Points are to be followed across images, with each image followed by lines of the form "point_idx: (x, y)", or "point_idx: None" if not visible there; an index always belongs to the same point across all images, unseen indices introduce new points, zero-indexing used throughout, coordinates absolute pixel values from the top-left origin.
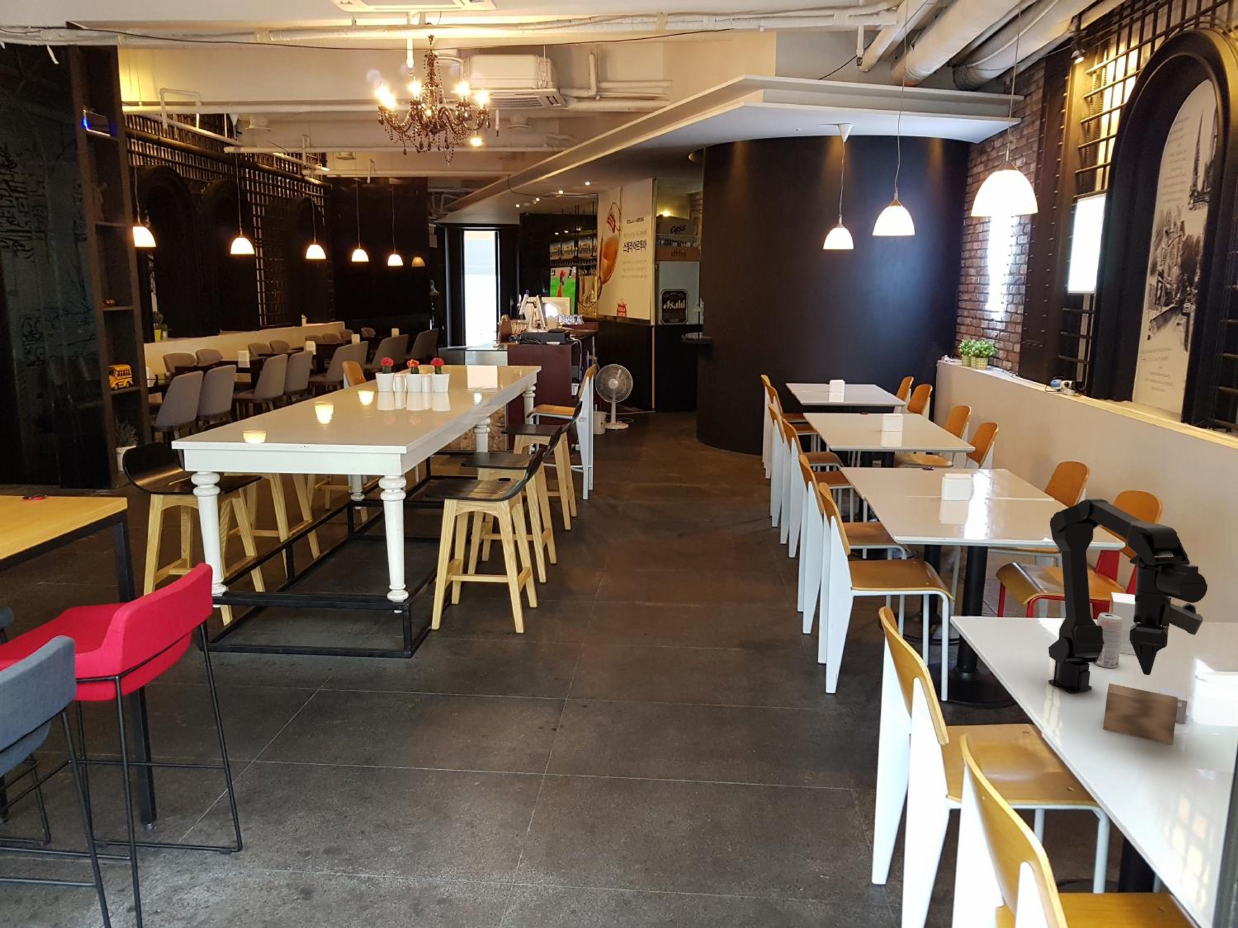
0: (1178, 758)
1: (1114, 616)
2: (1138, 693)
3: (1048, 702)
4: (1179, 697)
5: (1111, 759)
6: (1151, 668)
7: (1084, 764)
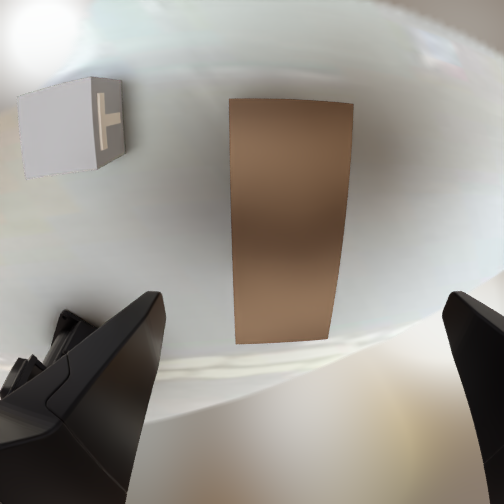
0: (392, 96)
1: None
2: (285, 252)
3: (212, 372)
4: (73, 105)
5: (452, 238)
6: (493, 311)
7: (477, 276)
